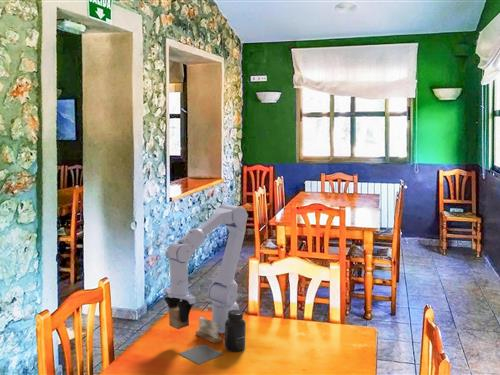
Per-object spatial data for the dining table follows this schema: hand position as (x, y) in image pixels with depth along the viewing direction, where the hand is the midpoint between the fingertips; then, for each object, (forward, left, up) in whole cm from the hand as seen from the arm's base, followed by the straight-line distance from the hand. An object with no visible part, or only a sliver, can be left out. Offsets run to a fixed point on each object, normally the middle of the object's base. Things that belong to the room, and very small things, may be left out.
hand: (179, 319), depth 168 cm
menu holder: (-10, +3, -8) cm, 13 cm away
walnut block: (0, 0, -2) cm, 2 cm away
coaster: (0, +11, -8) cm, 14 cm away
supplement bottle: (-11, +15, -8) cm, 20 cm away
